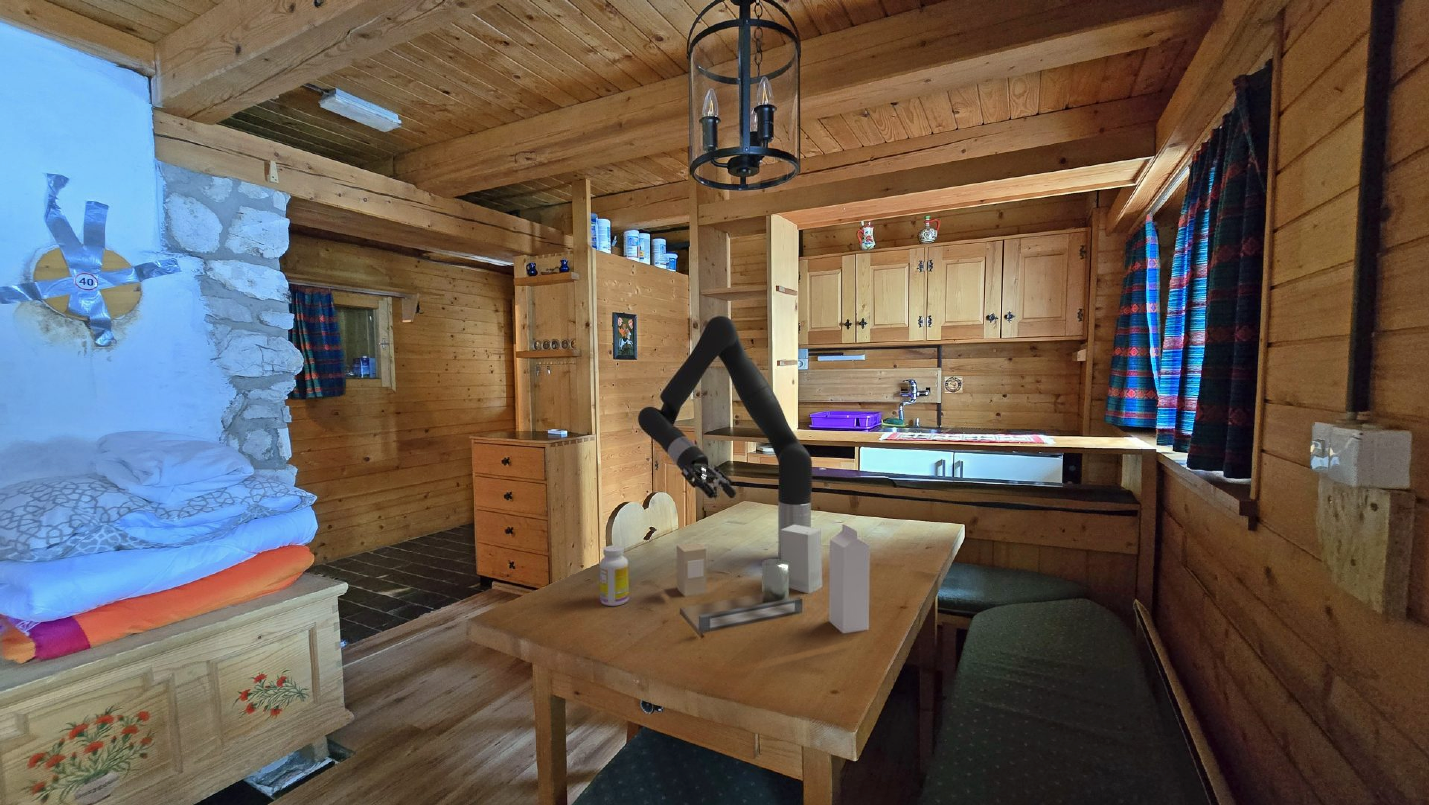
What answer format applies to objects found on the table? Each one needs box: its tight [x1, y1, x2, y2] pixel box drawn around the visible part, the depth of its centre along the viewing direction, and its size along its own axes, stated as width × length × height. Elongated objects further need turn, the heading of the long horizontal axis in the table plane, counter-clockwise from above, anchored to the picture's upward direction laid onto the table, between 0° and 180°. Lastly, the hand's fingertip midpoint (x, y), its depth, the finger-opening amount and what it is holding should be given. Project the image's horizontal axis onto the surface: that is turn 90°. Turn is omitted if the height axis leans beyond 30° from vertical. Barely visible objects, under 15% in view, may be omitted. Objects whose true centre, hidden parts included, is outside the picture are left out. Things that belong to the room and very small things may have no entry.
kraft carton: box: [676, 541, 707, 597], centre depth 138 cm, size 6×6×12 cm
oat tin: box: [761, 558, 790, 604], centre depth 128 cm, size 6×6×10 cm
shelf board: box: [679, 593, 803, 639], centre depth 127 cm, size 24×13×4 cm, turn 113°
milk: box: [828, 523, 871, 634], centre depth 119 cm, size 6×6×22 cm
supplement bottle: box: [599, 544, 630, 607], centre depth 135 cm, size 7×7×13 cm
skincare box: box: [780, 524, 823, 594], centre depth 141 cm, size 8×7×16 cm
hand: (723, 495), depth 145 cm, fingers open, 8 cm apart
